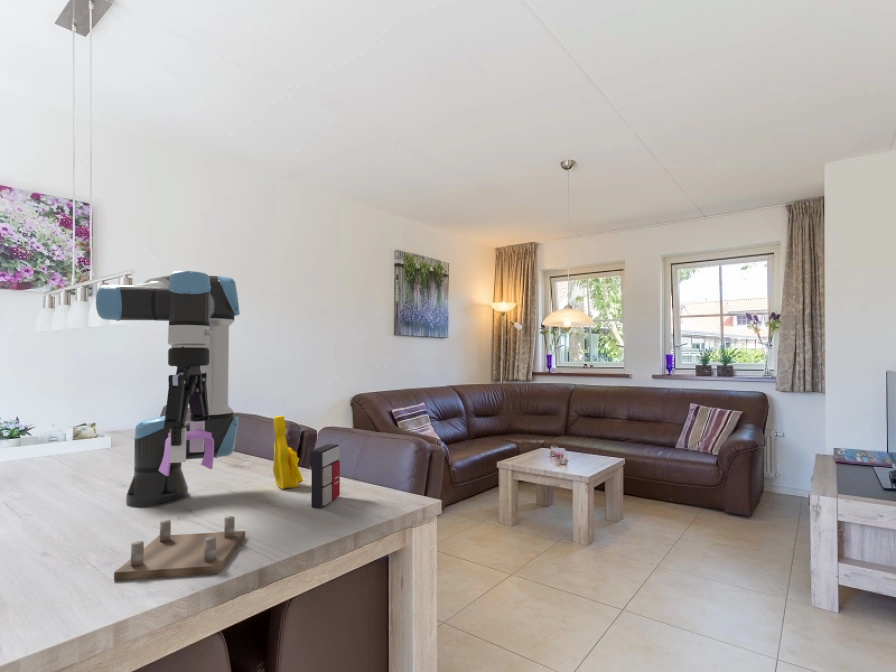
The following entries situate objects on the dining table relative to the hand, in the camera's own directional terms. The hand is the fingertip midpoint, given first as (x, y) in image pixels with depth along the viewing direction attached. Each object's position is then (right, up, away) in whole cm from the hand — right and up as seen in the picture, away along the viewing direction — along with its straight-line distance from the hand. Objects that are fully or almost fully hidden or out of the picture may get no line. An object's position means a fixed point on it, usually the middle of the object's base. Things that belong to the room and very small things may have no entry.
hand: (187, 456), depth 99 cm
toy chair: (0, -3, 0) cm, 3 cm away
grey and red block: (+19, -22, +35) cm, 46 cm away
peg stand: (0, -20, -1) cm, 20 cm away
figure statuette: (+3, -22, +51) cm, 56 cm away
